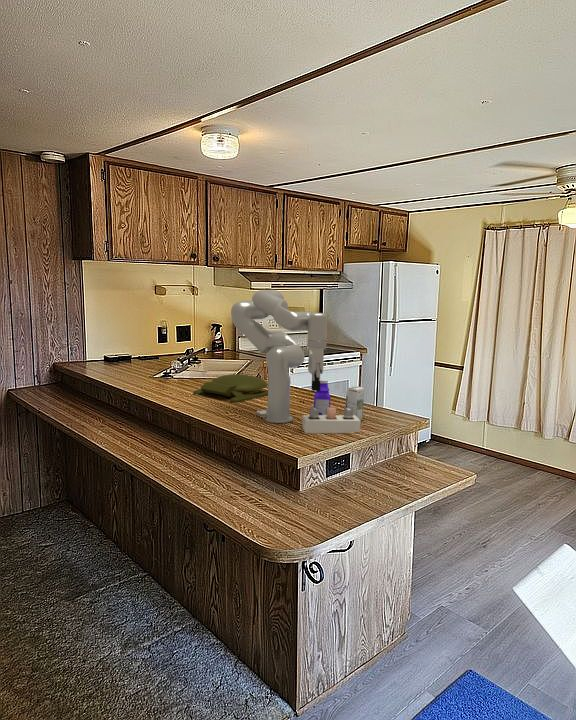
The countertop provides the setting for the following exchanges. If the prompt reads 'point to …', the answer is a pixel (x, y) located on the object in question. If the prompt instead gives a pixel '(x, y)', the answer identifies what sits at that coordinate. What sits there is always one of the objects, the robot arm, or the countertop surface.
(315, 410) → the left grey plug
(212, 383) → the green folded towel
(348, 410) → the grey domed plug
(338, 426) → the block
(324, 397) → the bottle
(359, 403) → the syrup box
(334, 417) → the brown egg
